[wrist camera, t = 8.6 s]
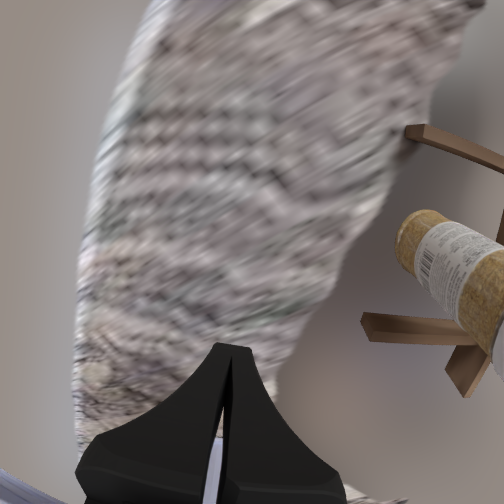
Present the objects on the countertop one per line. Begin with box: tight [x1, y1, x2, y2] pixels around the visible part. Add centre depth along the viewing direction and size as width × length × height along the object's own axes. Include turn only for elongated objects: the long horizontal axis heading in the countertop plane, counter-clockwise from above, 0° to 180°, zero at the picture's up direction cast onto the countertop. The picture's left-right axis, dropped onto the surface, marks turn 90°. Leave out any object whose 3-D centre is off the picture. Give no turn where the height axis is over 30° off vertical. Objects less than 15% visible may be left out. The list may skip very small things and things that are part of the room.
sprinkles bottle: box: [395, 210, 504, 381], centre depth 13 cm, size 5×5×13 cm
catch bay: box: [360, 124, 504, 398], centre depth 17 cm, size 22×11×4 cm, turn 172°
